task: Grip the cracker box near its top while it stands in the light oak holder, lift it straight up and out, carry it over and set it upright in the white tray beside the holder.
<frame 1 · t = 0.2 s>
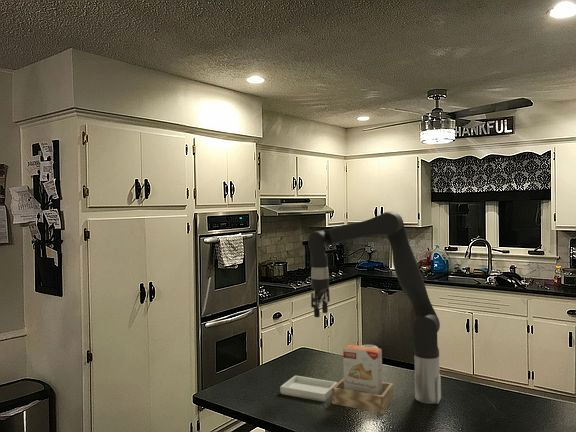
hand: (321, 314, 203), 29 cm above the table, tool pointing down, fingers open, 8 cm apart
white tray: (309, 391, 194), on the table
coffee cup: (369, 382, 203), on the table
oak holder: (363, 401, 183), on the table
cracker box: (363, 401, 183), resting in oak holder
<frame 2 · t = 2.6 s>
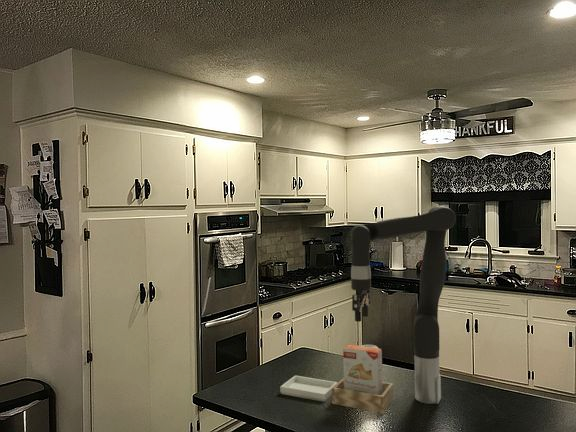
hand: (361, 318, 182), 32 cm above the table, tool pointing down, fingers open, 8 cm apart
nothing on the table moved.
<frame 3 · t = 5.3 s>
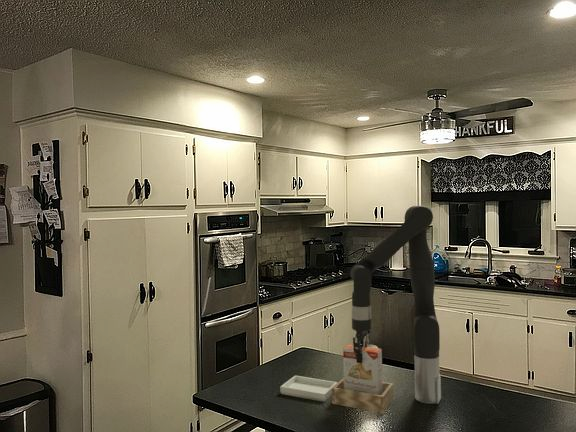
hand: (362, 360, 183), 16 cm above the table, tool pointing down, fingers closed on cracker box, 6 cm apart
cracker box: (363, 401, 183), resting in oak holder, touching gripper
everything else where it was.
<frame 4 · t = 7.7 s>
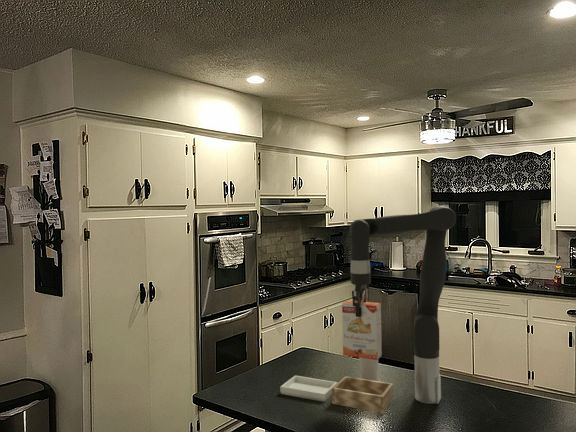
hand: (361, 314, 182), 34 cm above the table, tool pointing down, fingers closed on cracker box, 6 cm apart
cracker box: (362, 356, 183), point 17 cm above the table, touching gripper
everything else where it was.
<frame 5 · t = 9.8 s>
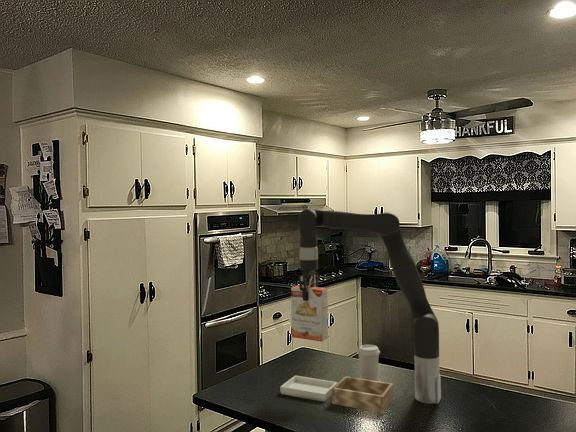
hand: (309, 299, 193), 38 cm above the table, tool pointing down, fingers closed on cracker box, 6 cm apart
cracker box: (309, 338, 193), point 22 cm above the table, touching gripper
everything else where it was.
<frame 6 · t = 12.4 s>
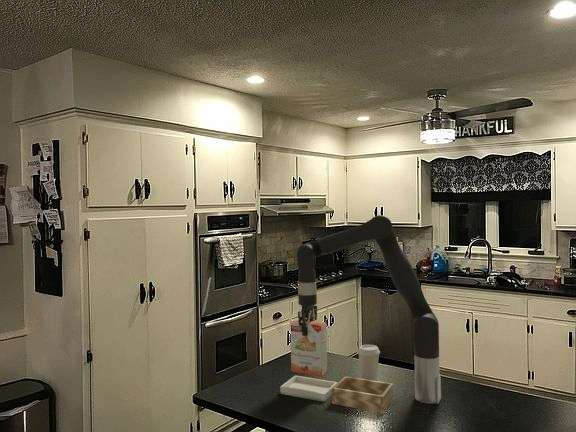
hand: (308, 333, 193), 24 cm above the table, tool pointing down, fingers closed on cracker box, 6 cm apart
cracker box: (309, 372, 194), point 8 cm above the table, touching gripper
everything else where it was.
when the fingers open (18 cm above the table, at t = 14.6 s): cracker box drops 1 cm, resting on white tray.
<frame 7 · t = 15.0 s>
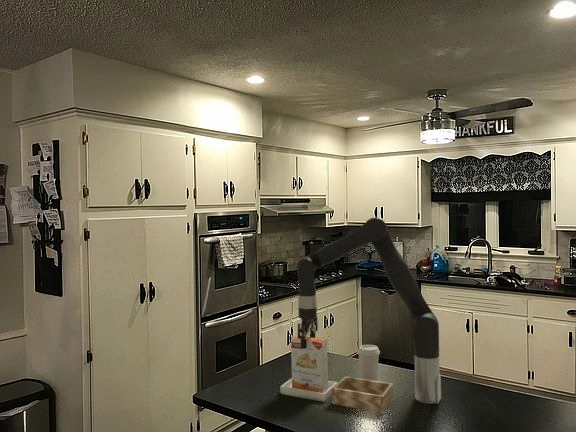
hand: (308, 345, 193), 19 cm above the table, tool pointing down, fingers open, 8 cm apart
cracker box: (309, 389, 194), point 1 cm above the table, touching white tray
everything else where it was.
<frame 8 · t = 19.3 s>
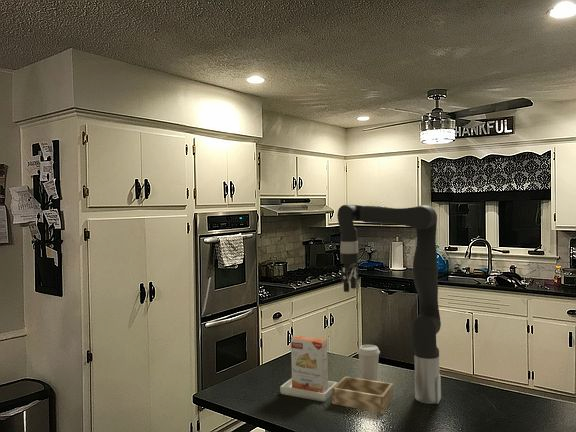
hand: (350, 290, 200), 40 cm above the table, tool pointing down, fingers open, 8 cm apart
nothing on the table moved.
at the end: cracker box inside the target area on the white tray (0.2 cm from its centre), point 0.8 cm above the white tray's base; cracker box tilted 0°; the gripper is holding nothing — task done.
